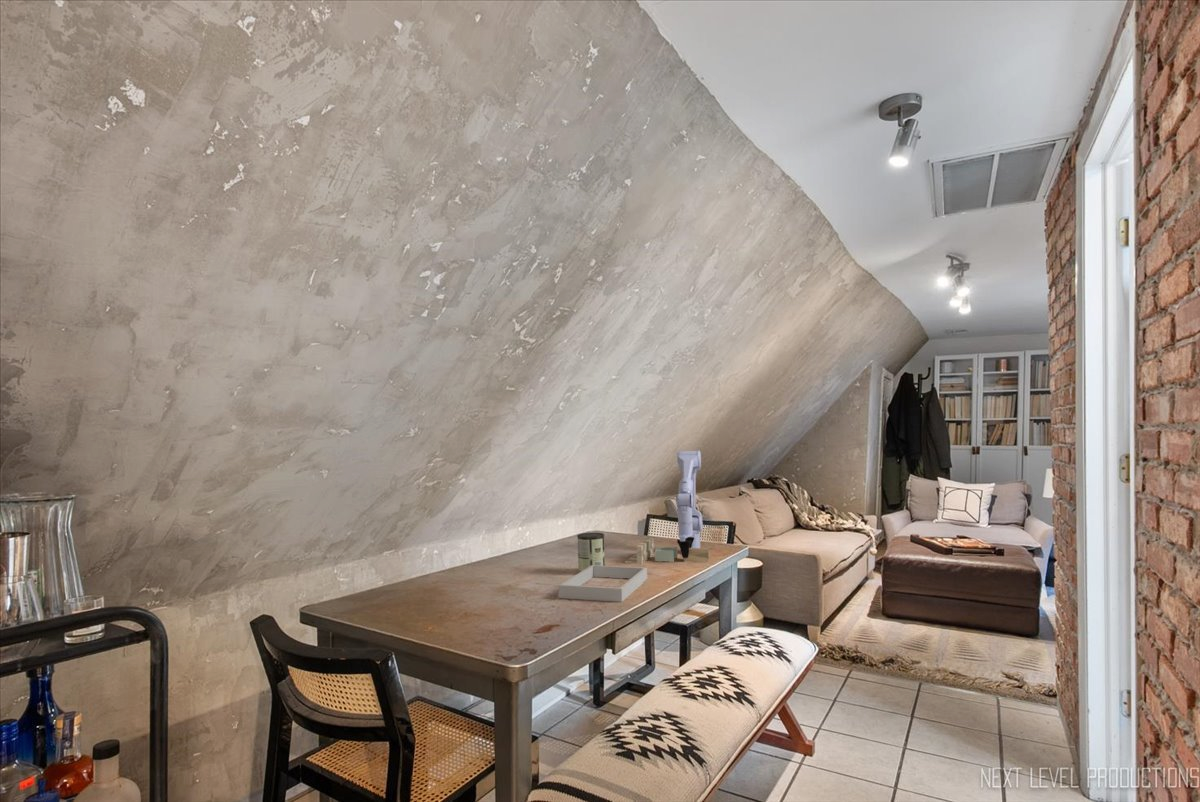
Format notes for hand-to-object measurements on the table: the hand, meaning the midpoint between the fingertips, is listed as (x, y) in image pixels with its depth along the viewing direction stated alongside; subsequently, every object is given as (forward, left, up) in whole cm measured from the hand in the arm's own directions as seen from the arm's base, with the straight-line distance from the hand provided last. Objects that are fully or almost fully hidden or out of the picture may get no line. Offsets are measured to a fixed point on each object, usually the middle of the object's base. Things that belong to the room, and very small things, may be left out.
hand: (686, 556), depth 256 cm
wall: (0, -19, -2) cm, 20 cm away
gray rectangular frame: (+51, -18, -2) cm, 54 cm away
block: (0, -8, -2) cm, 8 cm away
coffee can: (+28, -31, -2) cm, 42 cm away
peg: (0, +4, -2) cm, 4 cm away
